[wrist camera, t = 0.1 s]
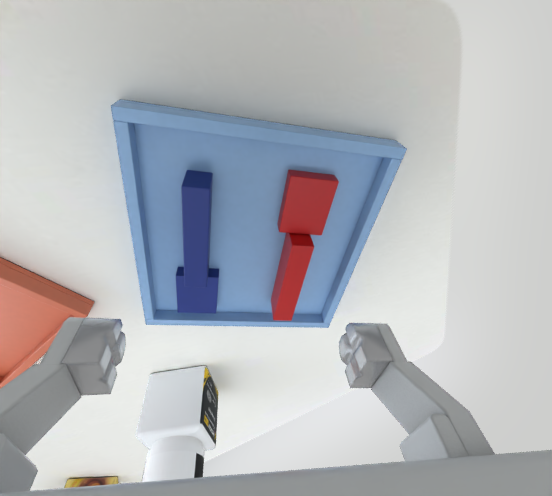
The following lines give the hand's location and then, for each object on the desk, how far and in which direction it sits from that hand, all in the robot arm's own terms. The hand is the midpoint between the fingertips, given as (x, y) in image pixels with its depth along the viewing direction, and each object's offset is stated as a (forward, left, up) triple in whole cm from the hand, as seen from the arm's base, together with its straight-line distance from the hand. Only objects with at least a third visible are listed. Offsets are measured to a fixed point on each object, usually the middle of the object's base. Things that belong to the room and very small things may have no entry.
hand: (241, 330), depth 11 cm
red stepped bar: (+7, +5, -13) cm, 16 cm away
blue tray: (+6, +2, -14) cm, 15 cm away
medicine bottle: (+30, -4, -14) cm, 33 cm away
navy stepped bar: (+6, -3, -13) cm, 15 cm away
